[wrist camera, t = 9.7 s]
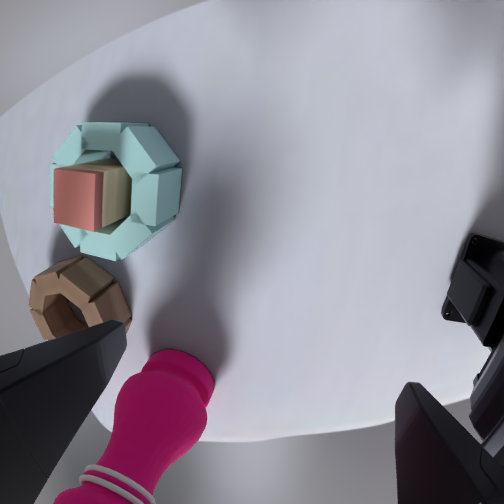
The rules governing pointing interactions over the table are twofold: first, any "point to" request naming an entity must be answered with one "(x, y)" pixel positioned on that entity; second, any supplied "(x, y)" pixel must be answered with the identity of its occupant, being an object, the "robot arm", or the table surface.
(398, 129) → the table surface
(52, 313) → the brown segmented ring
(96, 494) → the pepper mill
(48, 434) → the robot arm
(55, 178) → the pink two-tone square block
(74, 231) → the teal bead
